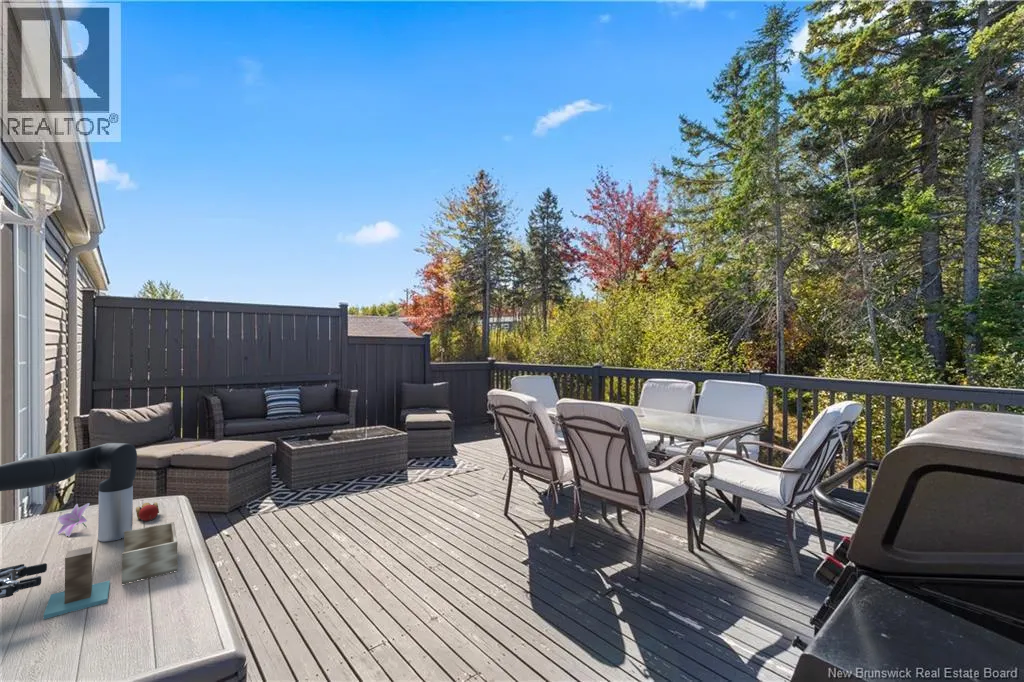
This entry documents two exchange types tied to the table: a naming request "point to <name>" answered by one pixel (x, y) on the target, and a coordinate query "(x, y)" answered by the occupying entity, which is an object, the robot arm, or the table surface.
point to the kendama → (147, 511)
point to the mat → (58, 606)
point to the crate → (149, 552)
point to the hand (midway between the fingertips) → (44, 573)
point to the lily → (72, 519)
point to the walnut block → (78, 574)
